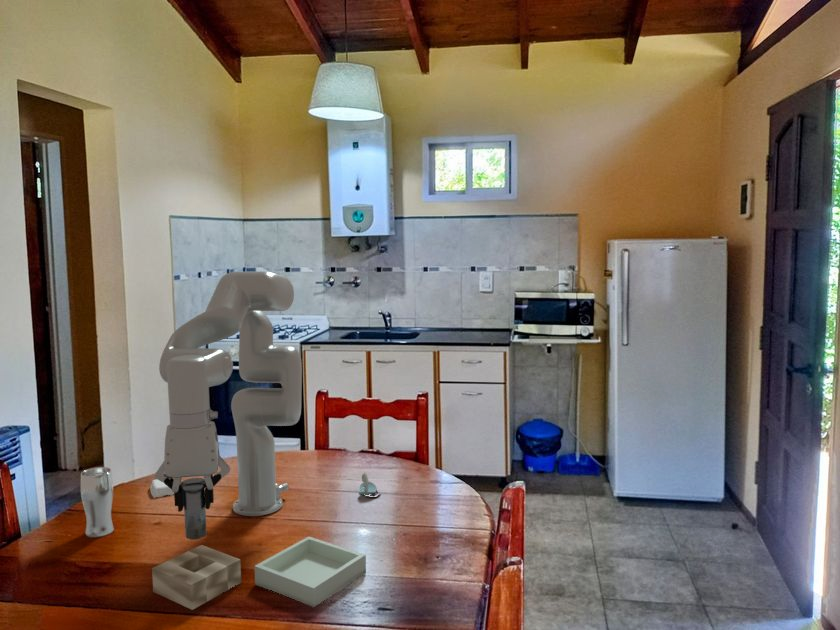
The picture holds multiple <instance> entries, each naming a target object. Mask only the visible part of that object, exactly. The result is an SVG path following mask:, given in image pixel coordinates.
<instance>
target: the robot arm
mask: <svg viewBox="0 0 840 630" xmlns="http://www.w3.org/2000/svg"><path fill="white" fill-rule="evenodd" d="M294 300H295V291H294V287H293V283H292V282H291V281H290V279H289V278H287V277H286V276H283V275H280V274H277V273H274V272H270V271H231V272H227V273H225V274H223V276H221V278H220V279H219V281H218V283H217V285H216V287H215V289H214V292H213V293H212V296H211V298H210V301H209V302H208V304H207V307H206V308H205V311H204V312H202V313H200V314H198V315H196V316H195V317H193V318H191V319H190V320H189V321H186V322H185V323H184V324H182V325H181V326H179V327H178V328H177V329H176V330H175V331H174V332H173V333H172V334H171V335H170V338H169V339H168V341H167V343H166V344H165V347H164V349H163V350H162V352H161V353H162V354H161V356H160V359H159V365H158V370H159V375H160V377H161V378H162V380H163V381H164V382H166V384H167V393H168V410H169V411H168V412H169V424H168V425H167V426H166V431H165V437H164V438H165V439H164V454H163V455H164V458H163V459H164V460H163V462H162V463H161V465H160V466H159V468H158V469H157V470H156V471H155V474H154V476H153V477H154V479H155V480H156V479H158V480H159V481H161V482H163V483H164V484H165V485H167V486H168V487H169V488H170V489H172V491H173V492H174V495H173V496H174V497H173V498H174V506H175V507H177V511H178V513H179V512H182V511H183V510H184V497H183V491H182V490H181V482H182V478H189V477H190V478H194V477H203V479H205V482H206V487H205V488H204V490H205V510H210V508H211V504H214V502H215V500H214V499H215V495H214V488H215V486H216V485H217V484H218V483H219V482H220V481H221V480H222V478H224V477H225V476H227V475H228V474H229V473H230V472H231V467H230V465H229V464H228V463H227V462H226V461H225V460H224V458H222V456H221V455H220V454H221V453H220V445H219V437H218V432H217V427H216V423H215V421H212V420H214V419H218V418H219V417H218V416H219V412H218V411H214V410H212V409H211V407H210V405H211V404H210V387H215V386H220V385H222V384H224V383H226V382H227V381H228V380H229V378H230V377H231V376H232V373H233V370H234V362H233V357H232V356H231V354H229V352H228V351H226V350H224V349H220V348H202V347H203V346H206V345H210V344H213V343H216V342H220V341H222V340H225V339H229V338H230V337H233V336H234V335H236V334H237V333H239V335H238V338H239V341H238V342H239V343H238V344H239V345H238V372H239V376H240V378H241V379H242V380H243V381H245V382H249V383H259V384H260V383H261V384H262V383H264V384H265V383H268V384H269V383H270V384H275V383H276V384H280V385H281V388H279V387H277V388H276V387H275V388H274V387H247V388H242V389H240V390H238V391H237V392H235V394H234V395H233V396H232V399H231V412H232V418H233V423H234V429H235V436H236V452H237V453H236V456H237V458H236V460H237V461H236V462H237V483H238V484H237V486H238V487H237V488H238V499H236V500H235V501H234V502H233V504H232V510H233V512H234V513H236V514H238V515H239V516H242V517H243V516H244V517H259V516H264V515H265V516H266V515H269V514H273V513H275V512H277V511H278V510H280V509H281V508H282V507H283V499H282V498H281V497H280V495H281V494H282V493H283V492H285V491H287V490H289V489H290V485H289V484H288V482H285V483H282V484H280V485H279V484H278V483H277V481H276V473H277V472H276V449H275V448H276V444H275V443H276V442H275V439H274V435H273V433H272V432H271V430H270V429H269V428H268V426H269V427H270V426H273V427H274V426H275V427H276V426H277V427H279V426H280V427H282V426H283V427H284V426H285V427H286V426H287V427H288V426H294V425H296V424H297V423H298V422H299V421H300V418H301V415H302V393H303V392H302V387H303V386H302V385H303V384H302V383H303V380H302V379H303V378H302V377H303V368H302V367H303V364H302V358H301V353H300V351H299V350H298V349H297V348H296V347H294V346H290V345H274V328H273V327H274V326H273V323H272V321H271V320H270V318H269V317H268V316H267V315H266V313H265V312H285V311H287V310H289V309H290V308H291V306H292V304H293V303H294ZM219 469H220V470H219ZM218 470H219V471H218Z"/></svg>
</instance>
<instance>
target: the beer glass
mask: <svg viewBox="0 0 840 630" xmlns="http://www.w3.org/2000/svg"><path fill="white" fill-rule="evenodd" d="M80 497H81V502H82V505H83V509H84V510H83V511H84V513H85V517H86V528H85V536H87V537H88V538H101V537H105V536H107V535H110V534H111V533H113V531H114V529H115V528H114V525H113V520H112V506H113V497H114V481H113V475H112V469H111V468H110V467H106V466H98V467H96V466H95V467H91V468H87V469H85V470H83V471H82V472H81V473H80Z"/></svg>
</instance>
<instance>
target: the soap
mask: <svg viewBox="0 0 840 630" xmlns="http://www.w3.org/2000/svg"><path fill="white" fill-rule="evenodd" d="M149 487H150V488H149V490H150V494H151V496H152V497H153V498H154V499H156V497H158V498H163V497H164V496H169V495H170V496H174V495H173V494H174V492H173V491H172V489H170V488H169V487H168V486H167V485H165V484H164V483H163V482H161V481H159V480H158V479H156V478H155V479H152V481H151V484H150V486H149Z"/></svg>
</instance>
